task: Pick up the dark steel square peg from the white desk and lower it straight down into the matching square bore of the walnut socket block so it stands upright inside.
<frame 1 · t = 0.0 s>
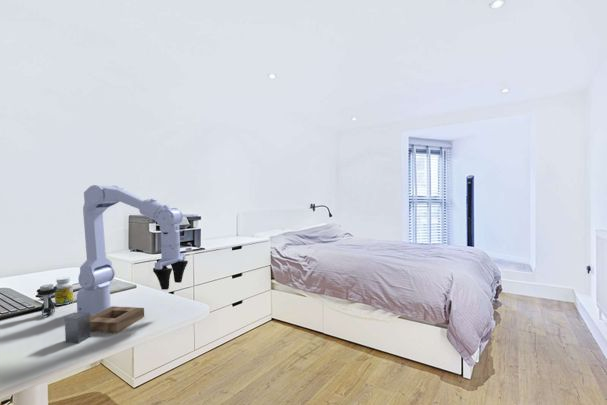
hand: (171, 285, 103), 10 cm above the table, fingers open, 7 cm apart
steel peg: (78, 339, 87), on the table
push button: (47, 316, 105), on the table
supplement bottle: (64, 304, 116), on the table
socket block: (114, 323, 97), on the table
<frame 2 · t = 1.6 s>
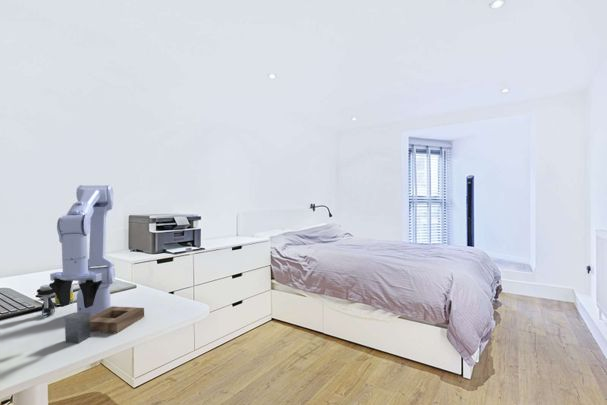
hand: (77, 306, 86), 10 cm above the table, fingers open, 7 cm apart
nothing on the table moved.
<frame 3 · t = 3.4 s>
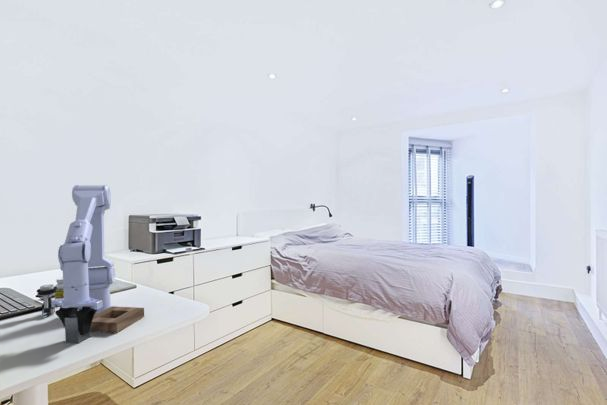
hand: (78, 332, 87), 2 cm above the table, fingers closed on steel peg, 4 cm apart
steel peg: (78, 339, 87), on the table, touching gripper
everything else where it was.
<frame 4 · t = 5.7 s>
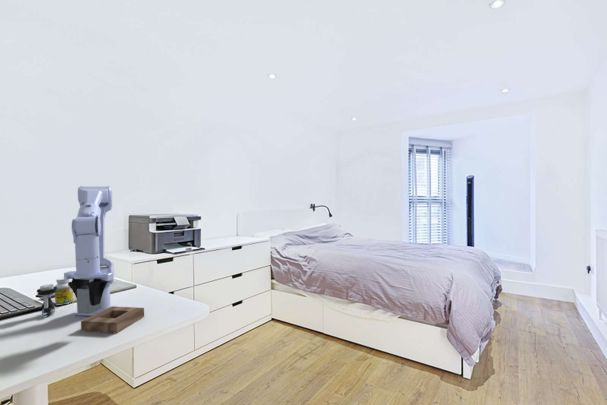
hand: (89, 304, 90), 9 cm above the table, fingers closed on steel peg, 4 cm apart
steel peg: (89, 310, 90), point 7 cm above the table, touching gripper
everything else where it was.
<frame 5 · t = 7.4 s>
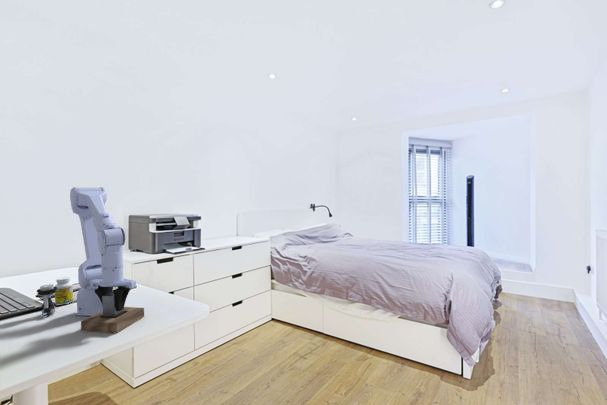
hand: (113, 309, 97), 4 cm above the table, fingers closed on steel peg, 4 cm apart
steel peg: (113, 316, 97), point 2 cm above the table, touching gripper
everything else where it was.
when the fingers open (3 cm above the table, at t = 8.5 s): steel peg drops 1 cm, resting in socket block.
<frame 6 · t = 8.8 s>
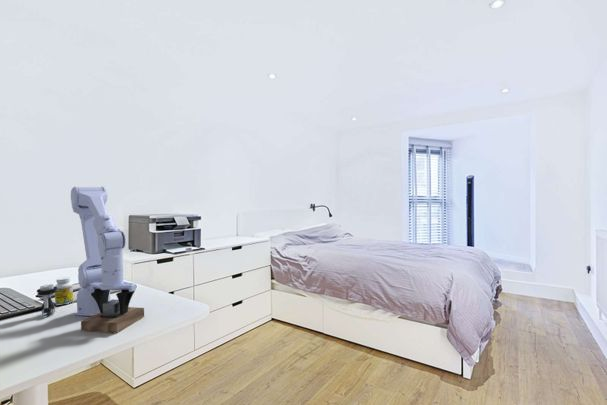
hand: (114, 312, 97), 3 cm above the table, fingers open, 6 cm apart
steel peg: (114, 323, 97), resting in socket block
everything else where it was.
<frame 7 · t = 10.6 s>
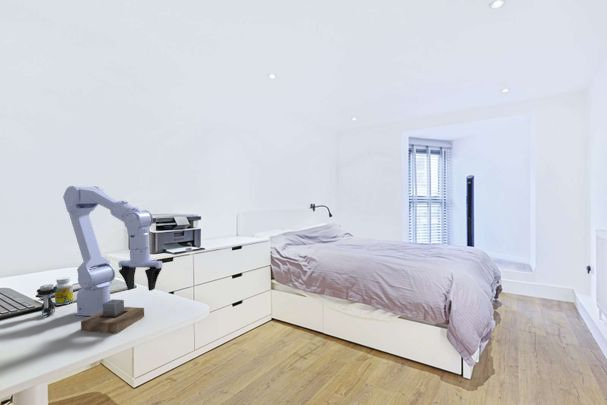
hand: (141, 289, 101), 9 cm above the table, fingers open, 7 cm apart
nothing on the table moved.
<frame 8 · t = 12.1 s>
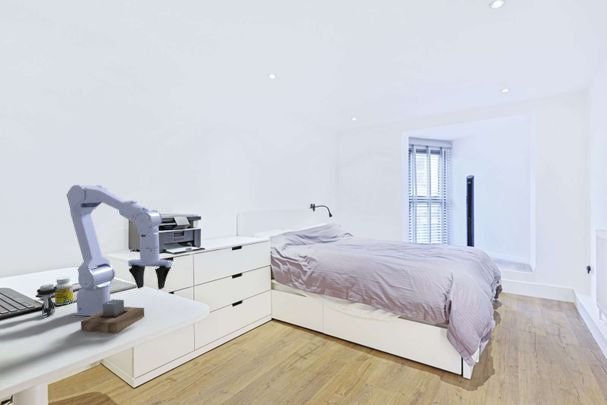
hand: (150, 288, 103), 9 cm above the table, fingers open, 7 cm apart
nothing on the table moved.
at the end: steel peg 0.1 cm off-centre on the socket block, point 0.0 cm above the socket block's base; steel peg tilted 0°; the gripper is holding nothing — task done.
